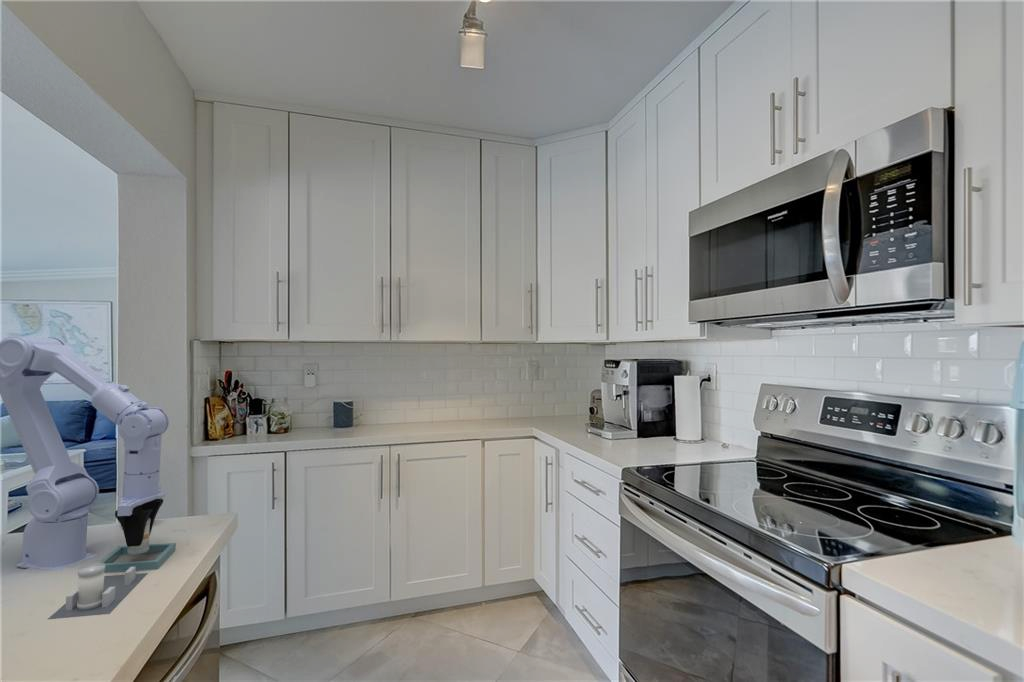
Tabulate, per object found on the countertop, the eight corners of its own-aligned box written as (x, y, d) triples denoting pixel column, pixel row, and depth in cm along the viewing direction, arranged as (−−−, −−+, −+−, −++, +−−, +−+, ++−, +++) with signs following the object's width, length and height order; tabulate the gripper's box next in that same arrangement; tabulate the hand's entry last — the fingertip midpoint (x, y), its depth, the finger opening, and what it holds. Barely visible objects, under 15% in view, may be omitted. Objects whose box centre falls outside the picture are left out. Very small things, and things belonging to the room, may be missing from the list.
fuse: (71, 608, 81) (72, 570, 82) (93, 598, 85) (94, 561, 85) (87, 611, 81) (89, 572, 81) (109, 601, 84) (110, 564, 84)
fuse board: (109, 617, 80) (110, 599, 80) (47, 623, 78) (48, 604, 78) (147, 576, 95) (148, 560, 95) (96, 580, 93) (97, 564, 93)
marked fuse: (122, 553, 98) (124, 522, 99) (138, 547, 102) (140, 516, 102) (137, 555, 98) (139, 523, 98) (153, 549, 101) (155, 518, 101)
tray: (157, 572, 96) (157, 561, 97) (94, 576, 94) (94, 565, 94) (175, 552, 106) (175, 542, 106) (118, 556, 103) (118, 546, 103)
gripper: (151, 480, 94) (147, 555, 94) (178, 463, 108) (175, 528, 108) (105, 481, 92) (101, 558, 92) (139, 463, 106) (135, 530, 106)
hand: (138, 542), depth 100 cm, fingers closed on marked fuse, 3 cm apart
